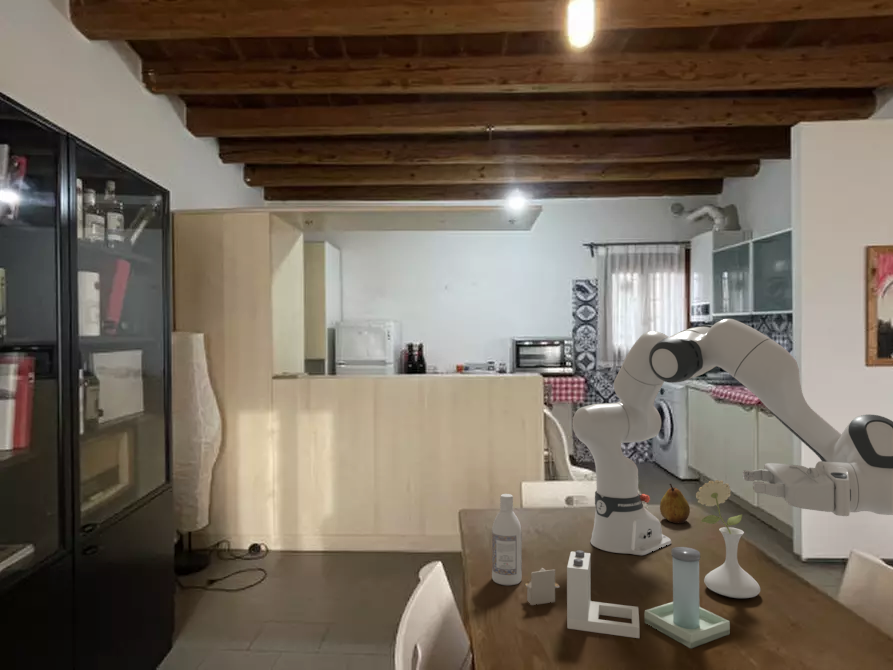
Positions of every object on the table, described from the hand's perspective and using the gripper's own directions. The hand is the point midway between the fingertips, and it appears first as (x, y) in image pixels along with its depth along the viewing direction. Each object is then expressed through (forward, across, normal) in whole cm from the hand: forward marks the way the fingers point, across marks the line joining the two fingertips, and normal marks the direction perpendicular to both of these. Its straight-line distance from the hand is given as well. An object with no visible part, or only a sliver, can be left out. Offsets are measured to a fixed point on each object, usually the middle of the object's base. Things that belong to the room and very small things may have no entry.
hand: (748, 480), depth 112 cm
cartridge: (+11, 0, +29) cm, 31 cm away
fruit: (+8, -71, +30) cm, 78 cm away
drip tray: (+11, 0, +30) cm, 32 cm away
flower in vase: (0, -20, +30) cm, 36 cm away
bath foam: (+49, -13, +30) cm, 59 cm away
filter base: (+27, +2, +30) cm, 40 cm away
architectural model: (+40, -4, +30) cm, 50 cm away
